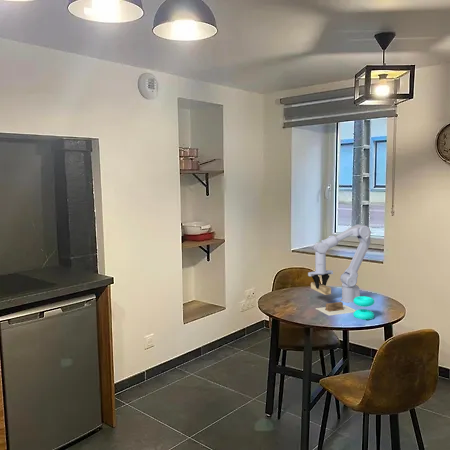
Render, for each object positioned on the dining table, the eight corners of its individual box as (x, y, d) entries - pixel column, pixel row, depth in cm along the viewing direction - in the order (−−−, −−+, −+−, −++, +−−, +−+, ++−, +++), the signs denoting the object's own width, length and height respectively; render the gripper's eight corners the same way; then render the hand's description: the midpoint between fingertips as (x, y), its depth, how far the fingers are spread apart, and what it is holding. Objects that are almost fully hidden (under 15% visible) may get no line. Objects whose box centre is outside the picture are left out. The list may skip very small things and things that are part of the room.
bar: (316, 287, 268) (316, 281, 268) (330, 294, 253) (331, 288, 252) (310, 288, 267) (310, 282, 266) (325, 294, 252) (325, 288, 251)
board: (344, 305, 254) (344, 304, 254) (359, 312, 240) (359, 311, 240) (315, 309, 248) (315, 308, 248) (328, 316, 235) (328, 315, 235)
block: (339, 307, 248) (339, 301, 248) (344, 309, 244) (344, 303, 244) (324, 309, 246) (324, 303, 245) (328, 311, 241) (328, 305, 241)
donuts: (372, 295, 235) (375, 300, 225) (372, 315, 236) (375, 321, 226) (352, 295, 237) (354, 300, 227) (352, 314, 238) (354, 320, 228)
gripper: (328, 261, 264) (328, 285, 266) (305, 263, 260) (305, 287, 261) (334, 263, 258) (335, 287, 259) (311, 265, 253) (311, 290, 254)
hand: (320, 287), depth 260 cm, fingers closed on bar, 3 cm apart
